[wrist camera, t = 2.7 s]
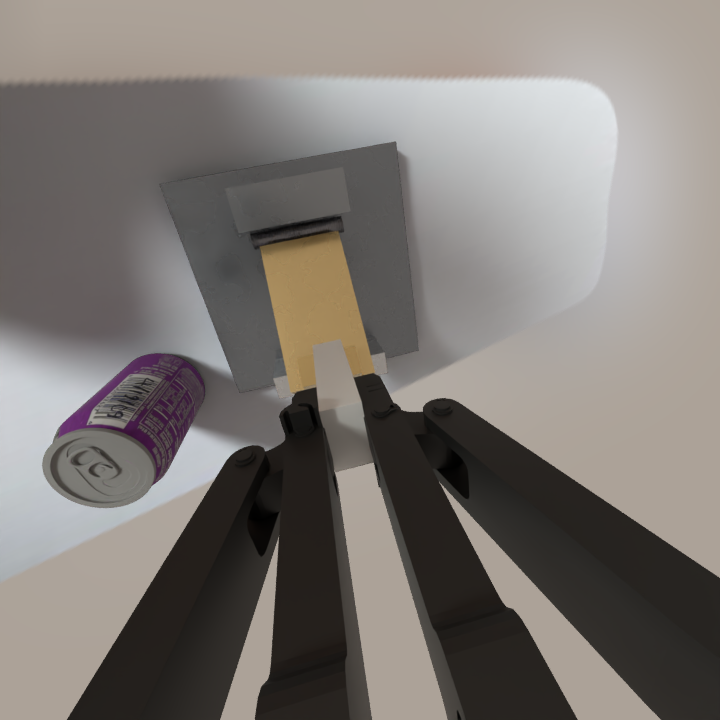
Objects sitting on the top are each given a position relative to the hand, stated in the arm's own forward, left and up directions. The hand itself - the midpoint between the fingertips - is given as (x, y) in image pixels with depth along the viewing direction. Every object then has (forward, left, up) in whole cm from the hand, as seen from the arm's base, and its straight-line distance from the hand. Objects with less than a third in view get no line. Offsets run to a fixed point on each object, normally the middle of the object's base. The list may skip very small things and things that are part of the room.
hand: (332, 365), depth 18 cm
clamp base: (-2, +2, -15) cm, 15 cm away
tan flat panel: (-1, +1, -9) cm, 9 cm away
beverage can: (-8, -14, -15) cm, 22 cm away
